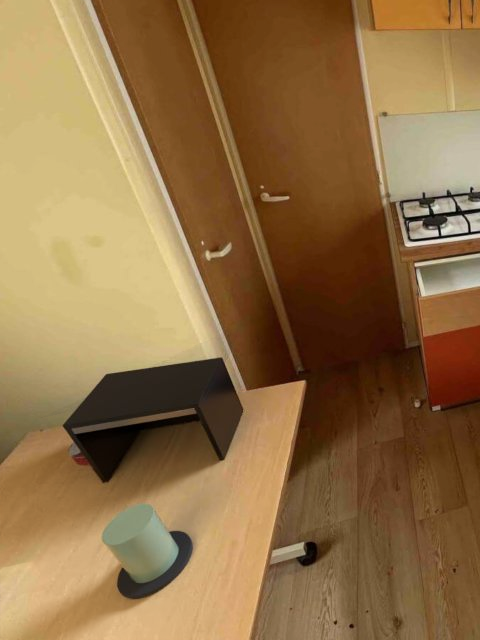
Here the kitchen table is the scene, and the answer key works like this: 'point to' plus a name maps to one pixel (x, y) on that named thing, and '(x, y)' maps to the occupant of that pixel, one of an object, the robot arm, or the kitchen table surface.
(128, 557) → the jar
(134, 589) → the trivet
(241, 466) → the kitchen table surface
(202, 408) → the dark wooden monitor stand
